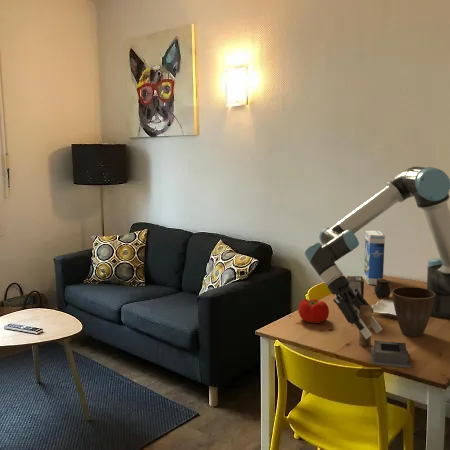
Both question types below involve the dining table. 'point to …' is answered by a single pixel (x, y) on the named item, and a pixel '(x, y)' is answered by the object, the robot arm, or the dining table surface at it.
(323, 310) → the tomato
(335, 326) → the dining table surface
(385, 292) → the mate gourd
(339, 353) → the dining table surface
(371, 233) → the string lights box
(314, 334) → the dining table surface
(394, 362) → the grey square socket base
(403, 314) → the plant pot
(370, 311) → the brown wooden cylinder
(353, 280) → the coffee box
